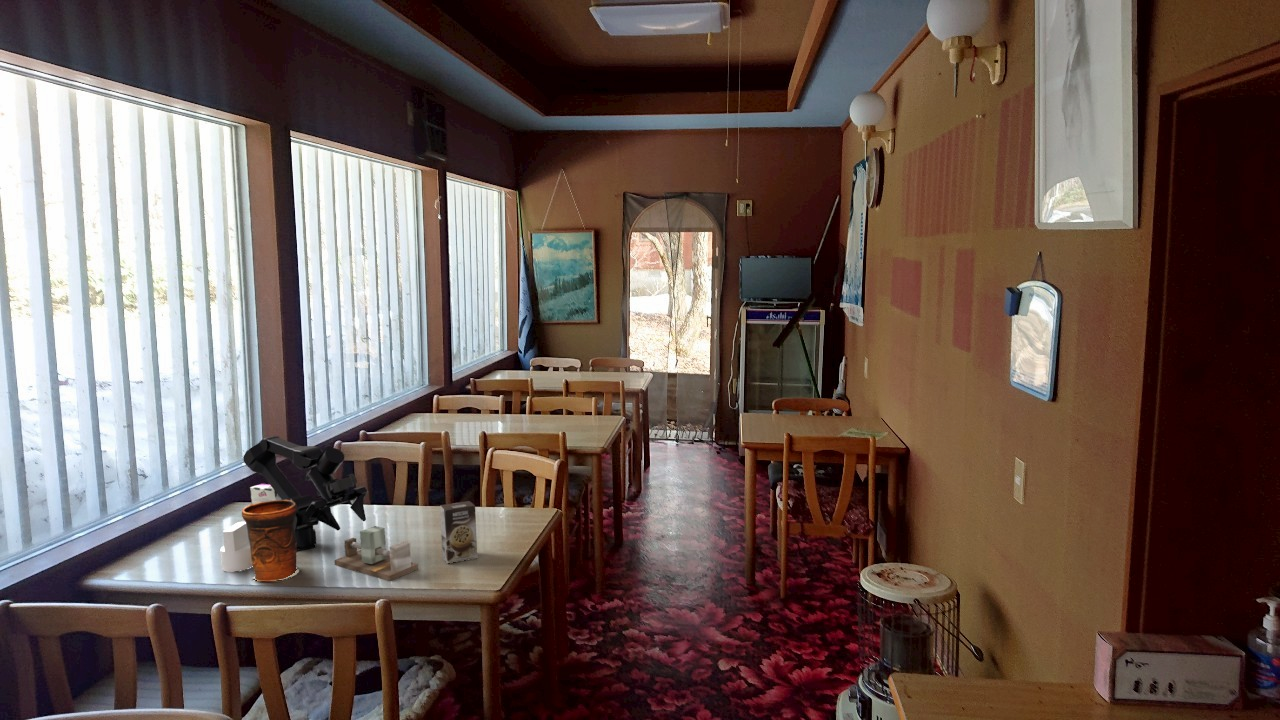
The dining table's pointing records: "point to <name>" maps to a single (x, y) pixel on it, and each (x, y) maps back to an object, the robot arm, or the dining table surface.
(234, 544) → the base with upright slab
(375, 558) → the sleeve
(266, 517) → the vessel
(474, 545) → the coffee box
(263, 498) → the candy bar box
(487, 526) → the dining table surface
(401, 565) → the rod stand
